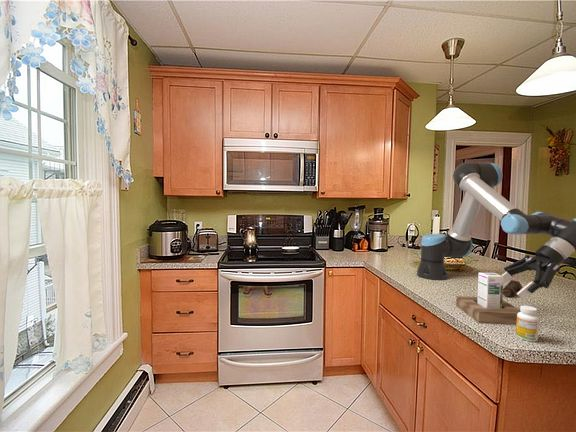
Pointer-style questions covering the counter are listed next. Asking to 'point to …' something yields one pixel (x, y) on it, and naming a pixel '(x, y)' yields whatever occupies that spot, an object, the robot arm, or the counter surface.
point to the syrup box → (490, 290)
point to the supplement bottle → (527, 324)
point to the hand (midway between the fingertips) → (507, 290)
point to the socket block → (488, 311)
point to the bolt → (512, 288)
